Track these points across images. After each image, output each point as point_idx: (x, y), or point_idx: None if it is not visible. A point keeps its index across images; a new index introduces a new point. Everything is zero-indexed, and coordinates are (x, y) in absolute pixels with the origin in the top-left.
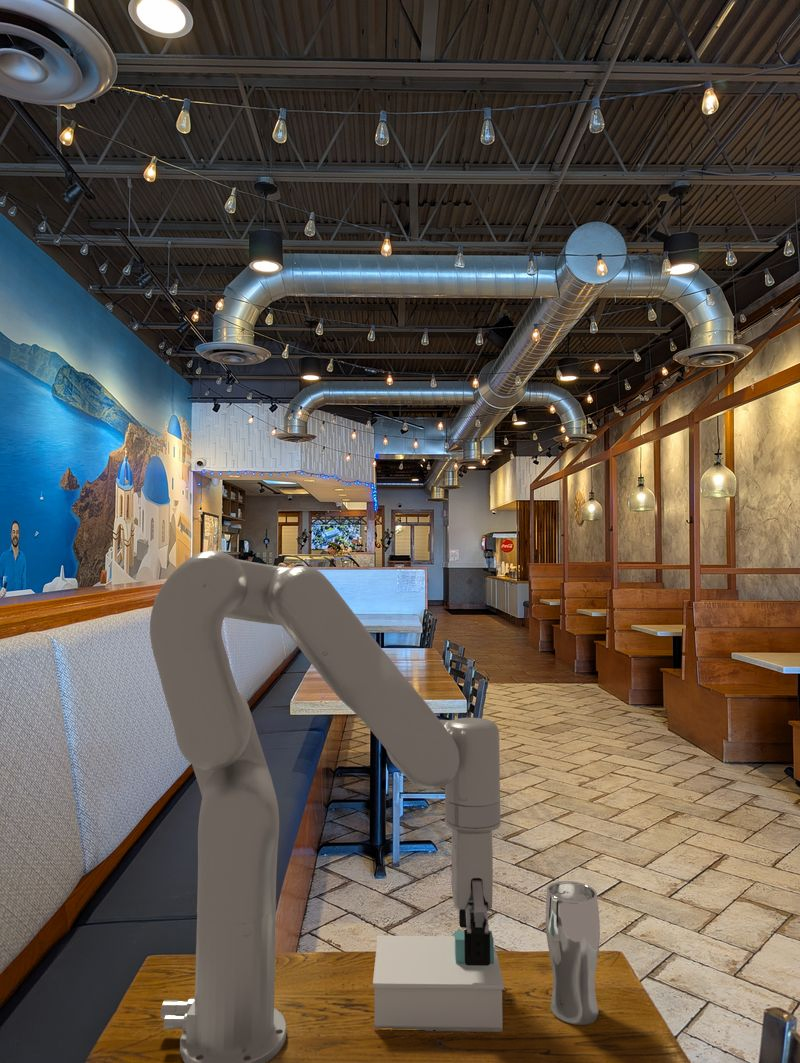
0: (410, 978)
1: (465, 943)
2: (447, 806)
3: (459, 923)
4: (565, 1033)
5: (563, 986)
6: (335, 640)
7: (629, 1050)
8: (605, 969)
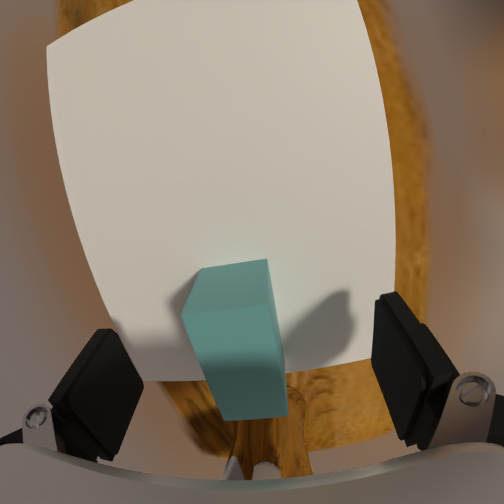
0: (77, 135)
1: (69, 372)
2: None
3: (387, 297)
4: (207, 393)
5: (236, 436)
6: None
7: (198, 436)
8: (377, 426)
